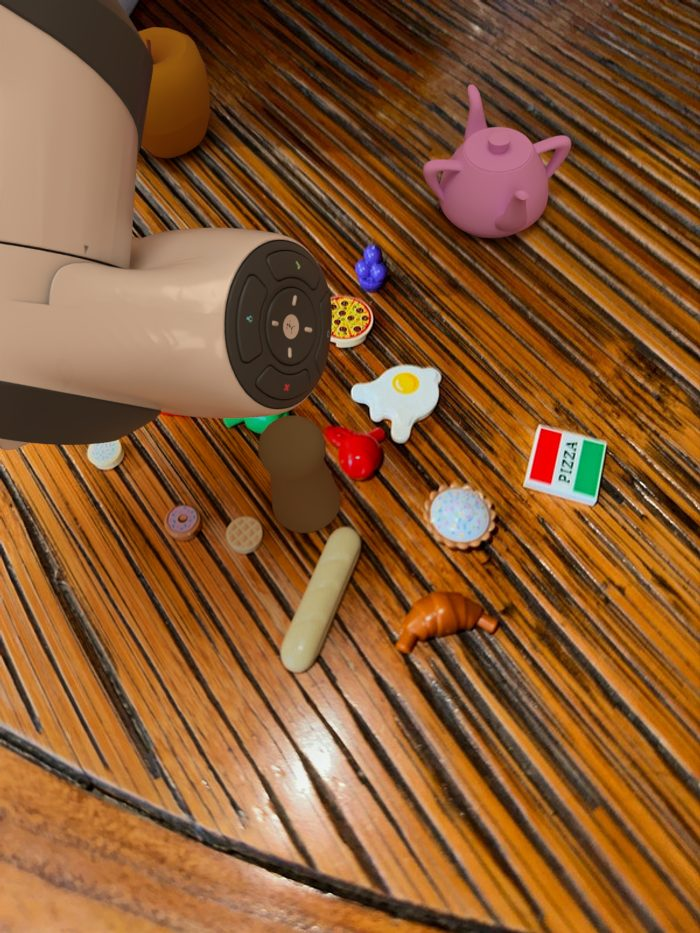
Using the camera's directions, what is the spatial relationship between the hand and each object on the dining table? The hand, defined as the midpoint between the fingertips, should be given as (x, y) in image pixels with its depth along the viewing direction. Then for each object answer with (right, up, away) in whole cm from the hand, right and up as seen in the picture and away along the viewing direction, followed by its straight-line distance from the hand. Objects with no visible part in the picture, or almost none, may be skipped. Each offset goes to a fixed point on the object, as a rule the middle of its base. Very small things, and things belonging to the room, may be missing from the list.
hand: (18, 321), depth 52 cm
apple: (+2, +28, +38) cm, 47 cm away
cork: (+19, -13, +14) cm, 27 cm away
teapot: (+38, +18, +30) cm, 52 cm away
